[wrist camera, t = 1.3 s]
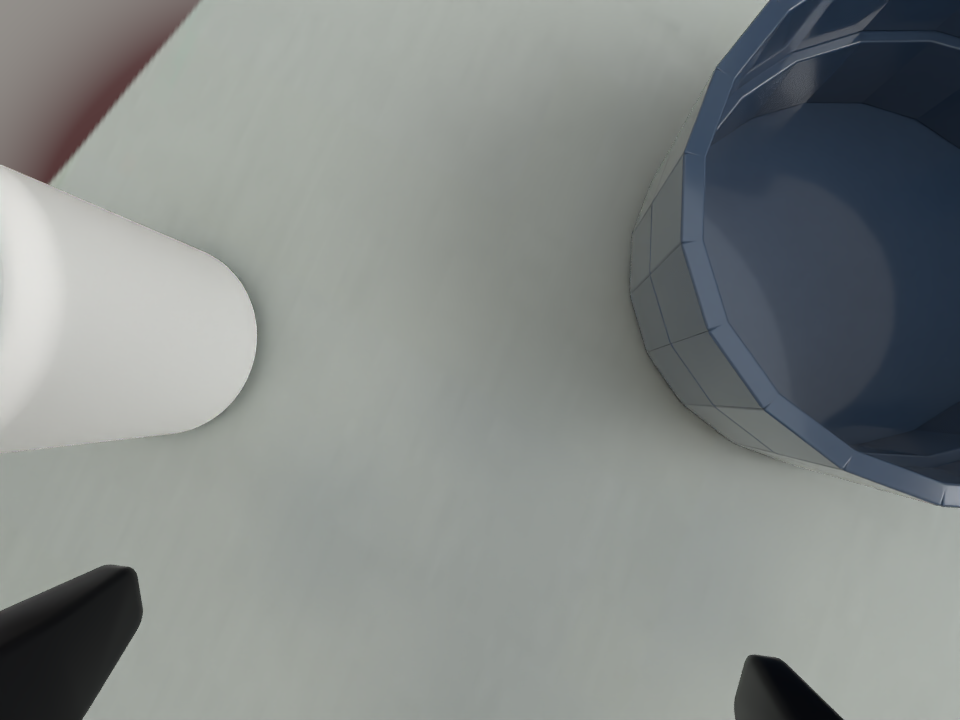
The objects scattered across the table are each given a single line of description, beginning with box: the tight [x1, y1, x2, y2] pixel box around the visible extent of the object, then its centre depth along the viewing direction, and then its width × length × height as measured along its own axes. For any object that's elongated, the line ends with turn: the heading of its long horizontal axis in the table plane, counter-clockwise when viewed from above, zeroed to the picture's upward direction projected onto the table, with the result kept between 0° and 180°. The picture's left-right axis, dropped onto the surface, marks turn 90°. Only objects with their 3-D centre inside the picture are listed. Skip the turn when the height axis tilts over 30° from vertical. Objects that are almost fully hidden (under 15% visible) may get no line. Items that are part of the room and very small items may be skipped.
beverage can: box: [0, 165, 257, 453], centre depth 19 cm, size 8×8×12 cm
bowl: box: [630, 0, 960, 508], centre depth 18 cm, size 15×15×8 cm
